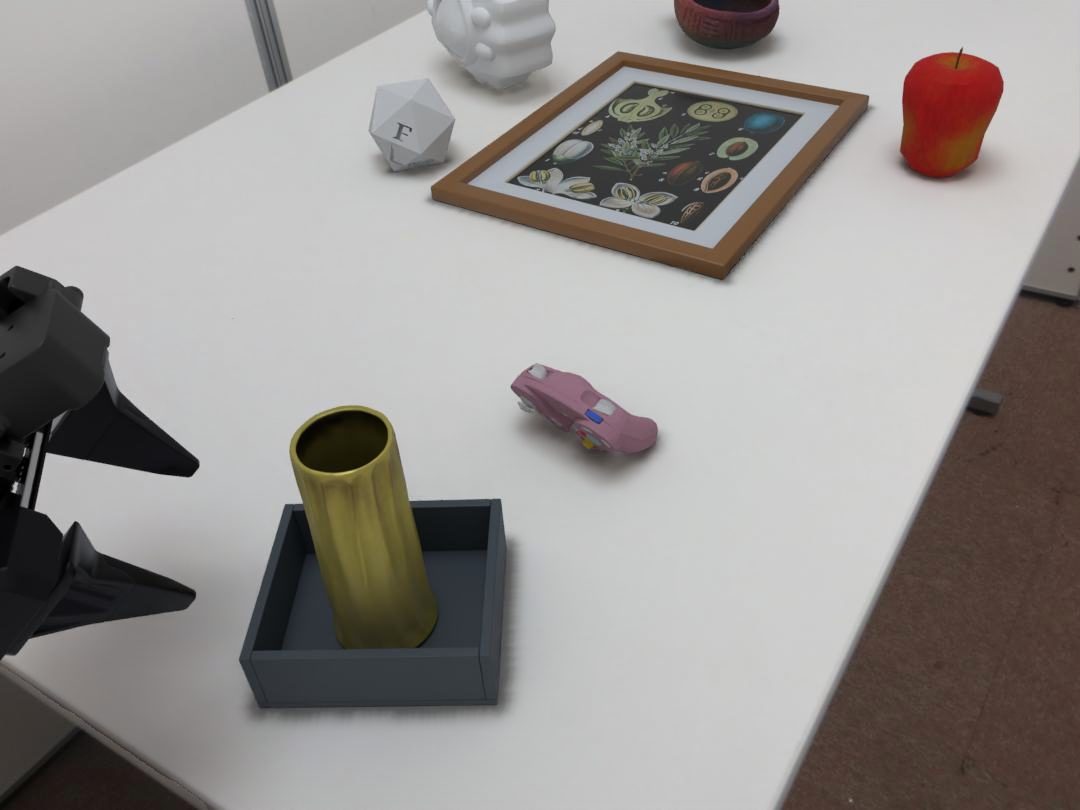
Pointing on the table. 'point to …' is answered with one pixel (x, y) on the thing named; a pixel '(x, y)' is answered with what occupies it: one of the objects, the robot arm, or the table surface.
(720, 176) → the picture frame
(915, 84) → the apple
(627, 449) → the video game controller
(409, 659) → the bin
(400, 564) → the vase
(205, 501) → the table surface
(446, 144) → the die
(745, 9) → the bowl
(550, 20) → the white ridged sculpture
